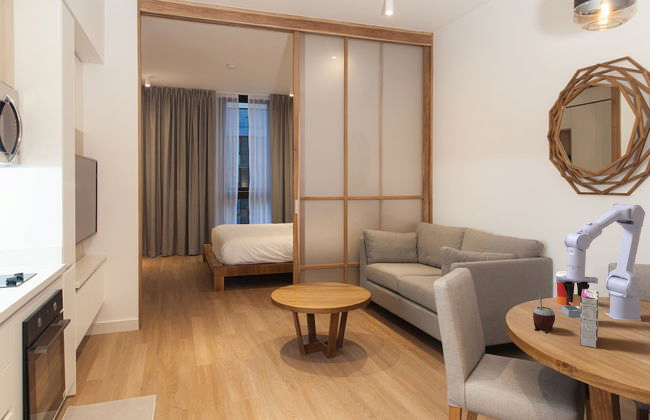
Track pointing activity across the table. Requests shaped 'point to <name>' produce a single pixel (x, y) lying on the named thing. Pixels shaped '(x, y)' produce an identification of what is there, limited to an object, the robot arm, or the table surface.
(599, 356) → the table surface
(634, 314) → the robot arm
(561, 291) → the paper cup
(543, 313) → the mate gourd
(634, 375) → the table surface
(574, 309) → the tub
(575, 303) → the lid
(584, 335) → the candy bar box
